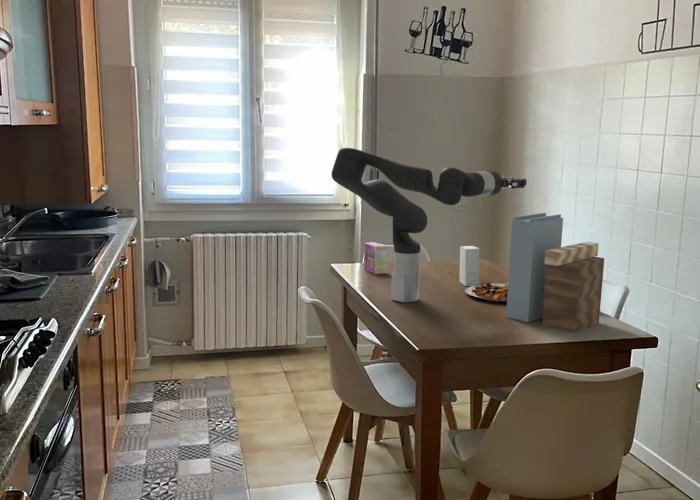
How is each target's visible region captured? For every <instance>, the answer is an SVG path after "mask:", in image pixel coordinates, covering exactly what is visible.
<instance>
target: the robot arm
mask: <svg viewBox="0 0 700 500" xmlns="http://www.w3.org/2000/svg"><path fill="white" fill-rule="evenodd" d="M367 166H369V167H373V168H375V169H377V170H378V171H380V173H382V174H383V175H384V176H385V177H386V178H387V179H388V180H389V181H390V182H391V183H392V184H394V186H396V187H398V188H400V189H403V190H406V191H411V192H417V193H420V194H424V195H426V196H429V197H431V198H432V199H434V200H436V201H437V202H440V203H442V204H444V205H448V206H455V205H457V204H459V203H460V201H461V199H462V197H465V198H467V197H468V198H469V197H489V196H491V197H492V196H495V195H497V194H498V193H500V192H501V190H505V189H507V190H508V189H509V190H511V189H512V190H513V189H524V188H526V185H527V179H526V178H514V177H509V176H503V175H501V174H499V172H497V171H496V170H480V171H475V172H472V171H471V172H466V171H463V170H461V169H458V168H457V167H452V166H449V167H445V168H443V169H442V170H440V173H439V176H438V184H437V186H436V185H435V184H434V177H433V172H432V170H430V169H428V168H424V167H420V166H419V167H418V166H413V165H409V164H404V163H400V162H396V161H394V160H392V159H391V160H390V159H389V158H385V157H383V156H379V155H376V154H373V153H370V152H367V151H365V150H361V149H357V148H353V147H342V148H340V149H339V150H338V153H337V155H336V157H335V160H334V164H333V165H332V170H331V179H332V180H333V181H334V182H335V183H336V184H337V185H339V186H341V187H343V188H344V189H346V190H347V191H350V192H351V193H353V194H355V196H358V197H360V199H362V200H363V201H365V202H366V203H367V204H368V205H369V206H370V207H372V208H373V210H374V209H375V211H377V212H379V213H381V214H383V215H386V216H389V217H391V218H392V245H393V272H392V273H391V275H390V276H391V278H390V284H391V285H390V300H392V301H395V302H396V301H397V302H401V303H413V302H418V301H419V292H420V271H421V269H420V268H421V267H420V266H421V244H420V243H419V242H417V240H416V241H415V240H414V239H413V238H412V237H411V236H410V234H420V233H422V232H424V230H425V229H426V228H427V225H428V217H427V216H428V215H427V213H426V211H425V210H424V208H423V207H420V206H419V205H417V204H416V203H414V202H412V201H411V200H409V199H408V198H406V197H405V195H403V194H402V193H400V192H399V191H398V190H397V189H396V188H395V187H394V186H393V185H391V184H390V183H389V182H388V181H386V180H384V179H372V180H369V181H366V182H363V180H362V179H363V175H364V172H365V169H366V167H367ZM509 180H510V181H509Z"/></svg>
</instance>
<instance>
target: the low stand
mask: <svg viewBox="0 0 700 500" xmlns="http://www.w3.org/2000/svg"><path fill="white" fill-rule="evenodd" d="M604 266H605V258H604V257H598V256H595V257H591V258H587V259H583V260H578V261H574V262H570V263H566V264H562V265H558V266H555V265H549V264H546V277H545V291H544V305H543V317H542V319H541V320H542V323H541V325H542V326H545V327H550V328H554V329H558V330H563V331H567V332H571V333H576V332H579V331H582V330H585V329H587V328H590V327H592V326H595V325H597V324H599V323H600V315H601V303H602V292H603V290H602V289H603V279H604V269H605V267H604Z"/></svg>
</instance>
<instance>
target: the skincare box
mask: <svg viewBox="0 0 700 500" xmlns="http://www.w3.org/2000/svg"><path fill="white" fill-rule="evenodd" d="M480 254H481V253H480V248H479V247H476V246H475V245H462V246H459V283H460V284H462V286H465V287H471V286H474V285H480Z"/></svg>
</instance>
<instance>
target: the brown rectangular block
mask: <svg viewBox="0 0 700 500" xmlns="http://www.w3.org/2000/svg"><path fill="white" fill-rule="evenodd" d="M598 253H599V243H598V242H591V241H585V242H584V241H583V242H580V243H576V244H571V245H570V244H569V245H565V246H561V247H560V248H555V249H551V250H546V251H545V264H549V265H555V266H558V265H562V264H566V263H570V262H574V261H578V260H583V259H587V258H591V257H598V255H599V254H598Z"/></svg>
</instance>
